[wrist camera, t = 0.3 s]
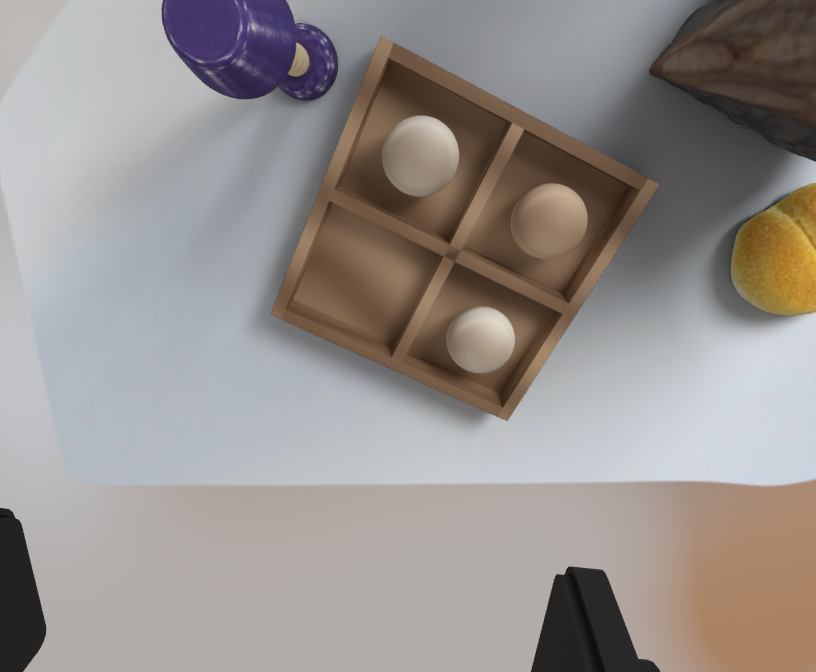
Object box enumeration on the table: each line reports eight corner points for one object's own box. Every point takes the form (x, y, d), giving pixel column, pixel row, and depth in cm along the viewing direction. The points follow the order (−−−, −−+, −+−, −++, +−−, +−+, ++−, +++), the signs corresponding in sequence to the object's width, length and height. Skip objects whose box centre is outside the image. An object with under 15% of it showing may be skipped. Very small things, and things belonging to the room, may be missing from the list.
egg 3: (528, 167, 34) (542, 173, 29) (591, 199, 34) (612, 210, 30) (493, 231, 35) (501, 246, 31) (553, 261, 36) (569, 280, 32)
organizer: (385, 43, 32) (380, 35, 29) (641, 179, 34) (659, 184, 32) (282, 300, 39) (270, 314, 36) (502, 400, 41) (507, 421, 38)
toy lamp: (343, 21, 32) (256, -74, 16) (350, 105, 34) (277, 91, 18) (265, 26, 32) (108, -63, 17) (276, 109, 34) (142, 98, 18)
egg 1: (404, 102, 33) (399, 99, 28) (470, 136, 33) (475, 138, 29) (374, 172, 34) (365, 179, 30) (437, 203, 35) (437, 215, 31)
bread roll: (702, 242, 36) (733, 256, 32) (834, 156, 34) (884, 161, 30) (756, 332, 38) (791, 355, 34) (884, 258, 36) (936, 273, 32)
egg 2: (464, 286, 37) (468, 307, 33) (522, 313, 37) (533, 338, 33) (434, 340, 38) (434, 367, 34) (490, 365, 39) (497, 396, 35)
